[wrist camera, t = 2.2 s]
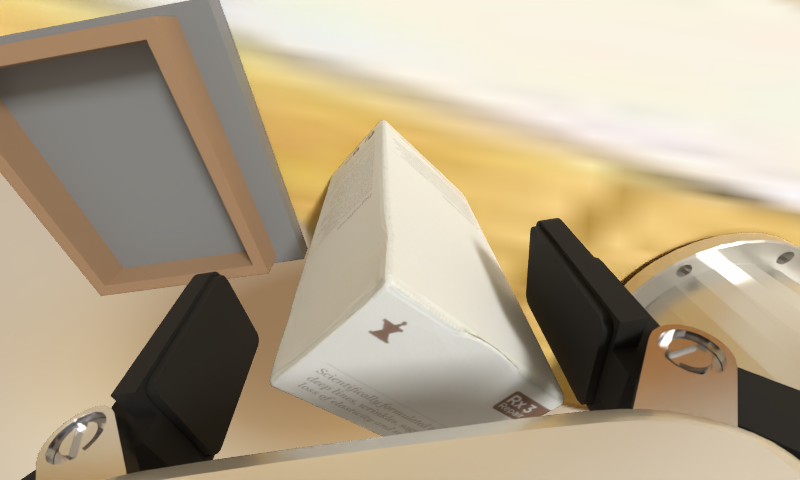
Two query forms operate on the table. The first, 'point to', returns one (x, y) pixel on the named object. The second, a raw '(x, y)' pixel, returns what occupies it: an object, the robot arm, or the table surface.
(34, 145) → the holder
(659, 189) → the table surface
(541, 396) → the skincare box
